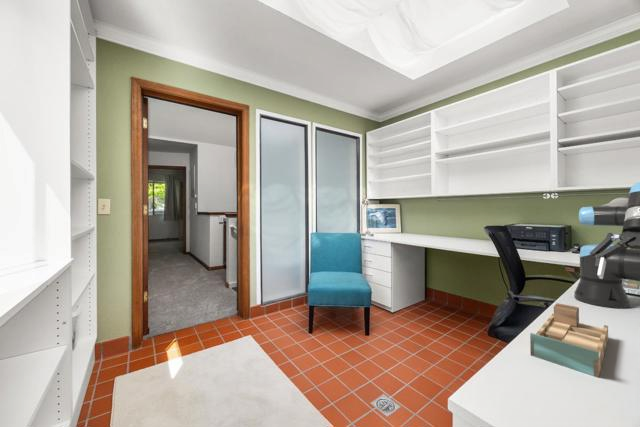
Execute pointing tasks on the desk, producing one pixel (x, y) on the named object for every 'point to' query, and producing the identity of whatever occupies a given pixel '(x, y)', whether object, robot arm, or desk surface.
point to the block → (566, 314)
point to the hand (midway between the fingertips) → (631, 281)
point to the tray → (571, 345)
